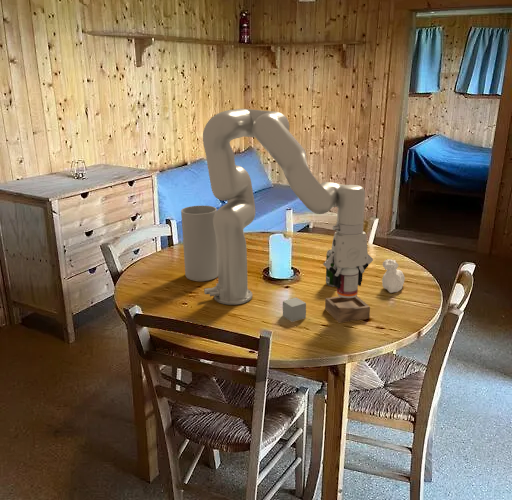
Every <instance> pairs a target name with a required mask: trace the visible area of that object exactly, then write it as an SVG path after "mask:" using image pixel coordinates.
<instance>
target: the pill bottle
mask: <svg viewBox="0 0 512 500" xmlns="http://www.w3.org/2000/svg"><path fill="white" fill-rule="evenodd" d="M358 274H359V270H358V268H357V267H349V268H342V269H341V271H340V274H339V276H340V277H341V281H340V288H339V289H338V288H336V295H337V297H338V296H340V297H343V298H354V297H356V296H358V291H359V289H358V287H359V285H358Z"/></svg>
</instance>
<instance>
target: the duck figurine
mask: <svg viewBox="0 0 512 500" xmlns="http://www.w3.org/2000/svg"><path fill="white" fill-rule="evenodd" d="M396 261H397V260H396V259H391V258H390V259H384V261H383V262H382V266H383V268H384V269H385V273H384V274H383V275H382V279H381V283H382V287H383V289H385V290H387V291H388V292H389V293H390V294H392V293H399V292H400V291H401V290H402V289H403V287H404V283H405V280H406V278H405V274H404V273H403V271H402V270H400V269H398V267H399V263H398V262H396Z"/></svg>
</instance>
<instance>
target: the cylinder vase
mask: <svg viewBox="0 0 512 500" xmlns="http://www.w3.org/2000/svg"><path fill="white" fill-rule="evenodd" d="M217 210H218V209H217V207H215V206H212V205H192V206H191V205H190V206H187V207H184V208H182V209H181V211H180V213H181V230H182V245H183V246H182V247H183V257H184V272H185V277H186V279H188V280H190V281H194V282H208V281H212V280H215V279H217V278H218V261H217V244H216V236H215V231H214V226H213V218H214V215H215V213H216V212H217Z"/></svg>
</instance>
